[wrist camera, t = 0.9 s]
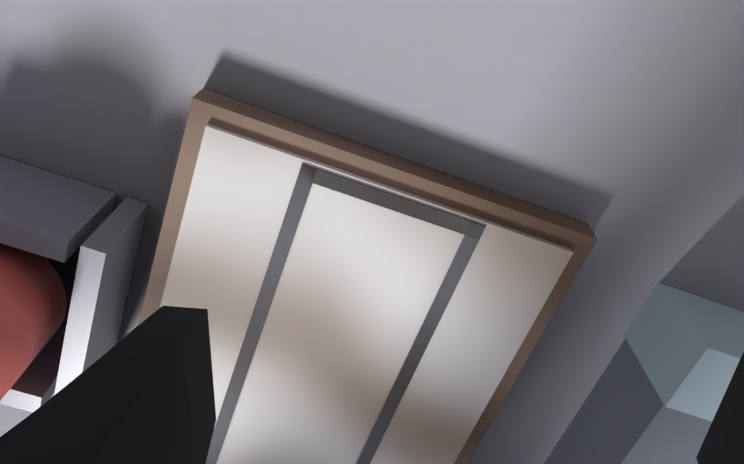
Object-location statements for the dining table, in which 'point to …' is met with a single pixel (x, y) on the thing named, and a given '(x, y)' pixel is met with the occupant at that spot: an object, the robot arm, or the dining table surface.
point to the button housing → (93, 274)
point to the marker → (658, 385)
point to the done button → (26, 310)
